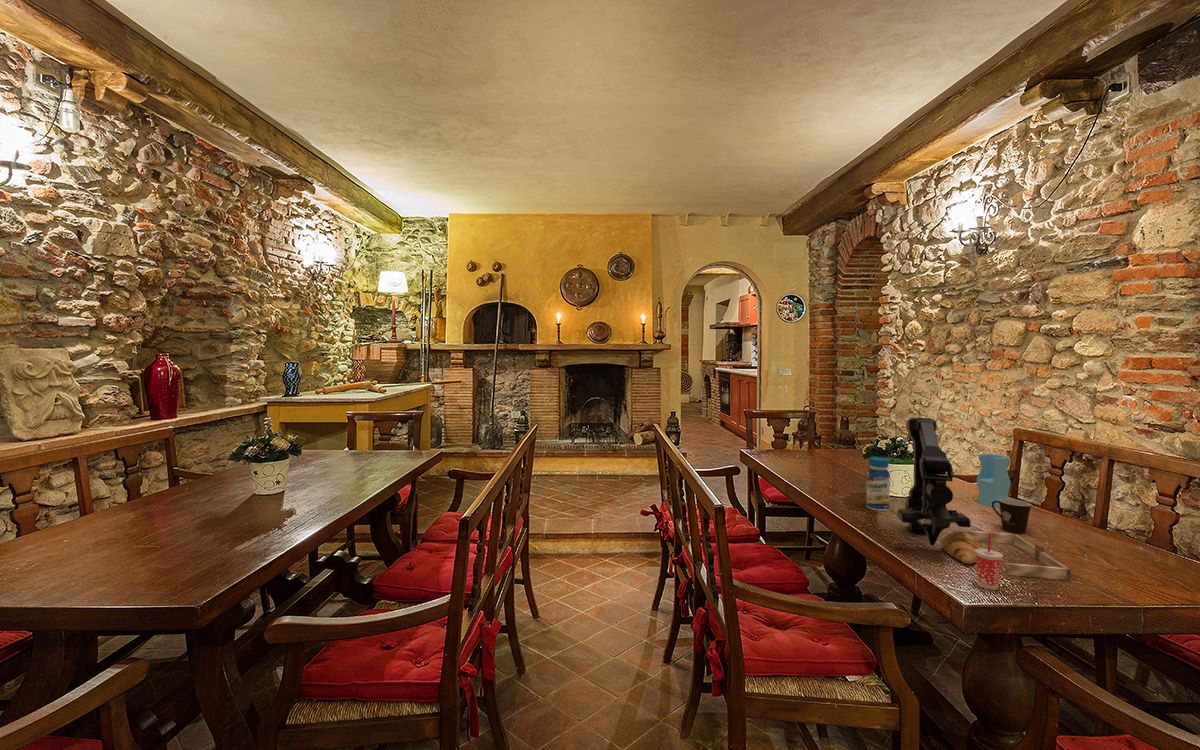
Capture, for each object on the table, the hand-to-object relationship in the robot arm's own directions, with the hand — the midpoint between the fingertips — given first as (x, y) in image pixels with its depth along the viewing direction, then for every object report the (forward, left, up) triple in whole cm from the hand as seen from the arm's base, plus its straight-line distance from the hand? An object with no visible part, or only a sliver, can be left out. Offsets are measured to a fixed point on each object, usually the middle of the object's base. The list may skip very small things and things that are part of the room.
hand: (931, 544), depth 163 cm
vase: (+42, +61, -2) cm, 74 cm away
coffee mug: (+35, +29, -2) cm, 45 cm away
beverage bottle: (-4, +44, -2) cm, 44 cm away
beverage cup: (+6, -23, -2) cm, 24 cm away
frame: (+22, 0, -2) cm, 22 cm away
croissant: (+8, 0, -2) cm, 8 cm away
